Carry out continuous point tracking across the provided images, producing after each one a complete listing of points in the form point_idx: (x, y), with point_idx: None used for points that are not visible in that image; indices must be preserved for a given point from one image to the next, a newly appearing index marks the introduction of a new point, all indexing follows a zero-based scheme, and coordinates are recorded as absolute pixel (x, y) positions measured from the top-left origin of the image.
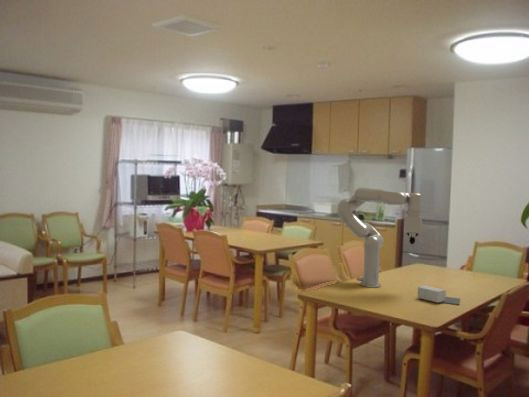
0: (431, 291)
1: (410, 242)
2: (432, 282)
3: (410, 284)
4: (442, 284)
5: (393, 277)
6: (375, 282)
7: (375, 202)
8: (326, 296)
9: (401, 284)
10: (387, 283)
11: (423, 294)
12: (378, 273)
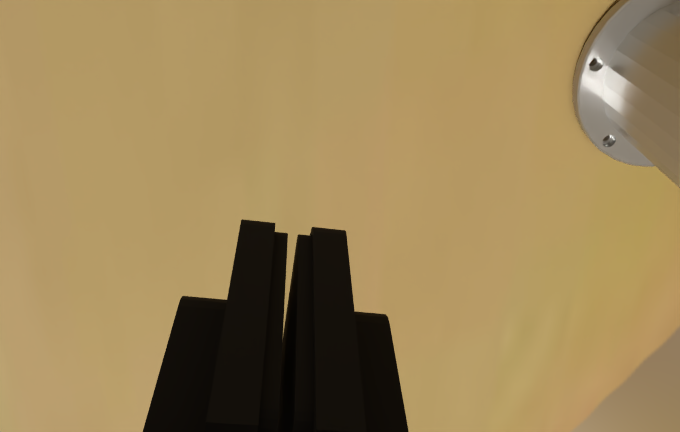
0: None
1: (348, 257)
2: (127, 391)
3: (292, 262)
4: (45, 365)
5: (419, 416)
6: (660, 25)
7: None
8: None
9: (368, 230)
10: (489, 215)
11: None
12: (672, 97)
